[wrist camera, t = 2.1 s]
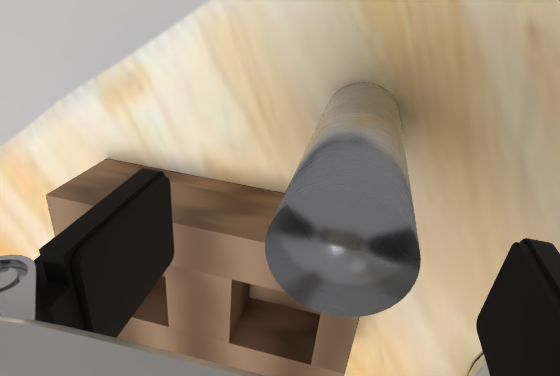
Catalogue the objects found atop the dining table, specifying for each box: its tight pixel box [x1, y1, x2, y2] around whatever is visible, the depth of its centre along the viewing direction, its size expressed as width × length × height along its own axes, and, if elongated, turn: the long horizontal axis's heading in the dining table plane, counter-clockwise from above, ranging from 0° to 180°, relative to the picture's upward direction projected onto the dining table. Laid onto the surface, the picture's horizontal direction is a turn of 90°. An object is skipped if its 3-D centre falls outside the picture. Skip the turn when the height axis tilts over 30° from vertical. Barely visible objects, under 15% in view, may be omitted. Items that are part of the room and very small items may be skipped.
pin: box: [265, 82, 420, 317], centre depth 17 cm, size 4×4×14 cm
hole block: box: [46, 159, 360, 376], centre depth 27 cm, size 20×12×6 cm, turn 85°
